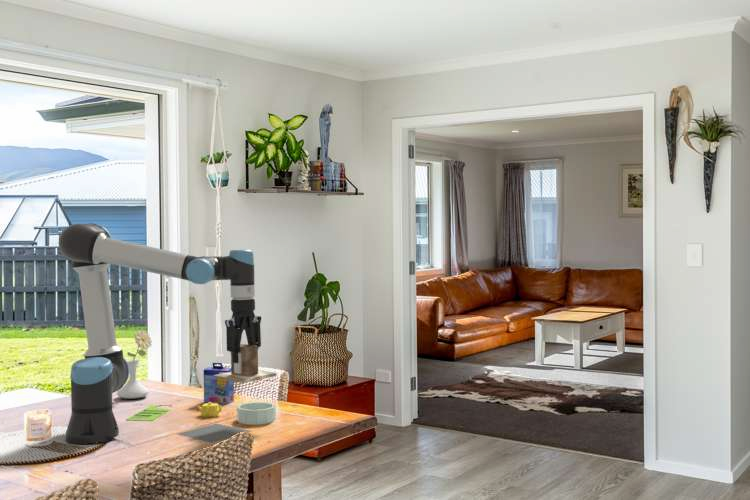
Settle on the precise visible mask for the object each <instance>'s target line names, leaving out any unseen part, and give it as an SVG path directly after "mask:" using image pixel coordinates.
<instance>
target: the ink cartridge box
mask: <svg viewBox="0 0 750 500" xmlns="http://www.w3.org/2000/svg"><path fill="white" fill-rule="evenodd" d="M227 372H231V367H226V366H223V362H212V366H208V367H205V368H204V369H203V403H204V402H207V403H208V402H212V403H218V404H225V403H226V404H227V405H229V404H230V403H232V402H234V401H235V382H233V381H226V380H220V379H213V375H217V374H222V373H227ZM226 404H225V405H226Z"/></svg>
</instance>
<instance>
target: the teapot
mask: <svg viewBox="0 0 750 500" xmlns="http://www.w3.org/2000/svg"><path fill="white" fill-rule="evenodd" d="M197 408H198V410H199V411H200V417H202V418H203V417H204V418H213V417H214V418H216V417H217V416H218V415H219V413H221V412H223V410H222V409H223V408H222V405H219V403H212V402H208V403H204V404H202V405H201V406H200V405H197Z"/></svg>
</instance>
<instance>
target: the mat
mask: <svg viewBox="0 0 750 500" xmlns="http://www.w3.org/2000/svg"><path fill="white" fill-rule="evenodd" d="M245 431H246V432H247V433H249V432H251V430H249V429H246V428H245V429H244V428H239V427H234V426H230V425H225V424H220V423H213V424H209V425H206V426H201V427H198V428H194V429H190V430H187V431H182V432H179V433H177V435H179V436H183V437H186V438H190V439H191V438H192V439H196V440H200V441H205V442H210V443H215V442H219V441H222V440H225V439H230V438H232V437H231V436H233V435H235V434H237V433H240V432H245ZM233 437H234V436H233Z"/></svg>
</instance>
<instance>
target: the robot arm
mask: <svg viewBox="0 0 750 500" xmlns="http://www.w3.org/2000/svg"><path fill="white" fill-rule="evenodd" d="M58 248H59V250H60V253H61V254H62V255H63V257H65V258H66V259H67V260H70V261H71V267H72V270H74V271H75V272H77V274H78V280H79V287H80V288H79V289H80V294H81V301H82V302H81V303H82V309H83V317H84V324H85V325H84V326H85V332H86V340H87V348H88V349H87V350H86V351H85V352H84V354H83V359H78V360H77V361H74V363H73V364H72V365H71V369H70V375H69V377H70V400H71V403H70V406H71V415H70V418H69V421H68V424H67V427H66V432H65V441H66V442H67V443H70V444H76V445H88V444H87V443H95V444H97V443H96V442H102V443H107V442H112V441H114V440H115V439H116V437H118V436H119V435H120V431H119V430H120V429H119V426H118V425H119V424H118V423H117V420H116V417H115V414H114V412H113V394H114V393H116V392H118V391H119V390H120V389H121V388H122V387H123V386H124V385H125V384H126V383H127V382H128V381H129V378H130V371H129V365H128V363H127V361H126V360H127V359H125V358H124V350H123V348H122V347H121V346H119V345H118V343H117V336H116V330H115V320H114V314H113V306H112V299H111V291H110V283H109V276H108V269H109V267H110V266H111V265H114V266H118V267H123V268H129V269H133V270H138V271H142V272H147V273H151V274H157V275H162V276H167V277H169V278H170V277H171V278H176V279H181V280H184V281H188V282H191V283H192V284H196V285H205V284H207V283H209V282H212V281H229V282H230V284H229V285H230V298H232V299H231V300H230V310H231V312H232V315H231V318H230V319H226V320H224V324H225V327H226V330H225V331H226V332H225V333H226V351H227V352H229V353H231V352H232V362H233V363H234V373H238V374H242V367H241V353H239V349H240V344H242V343H241V342H242V335H243V332H245V334H246V335H245V336H246V341H247V344H248V345H257V346H258V350H259V349H260V348H261V346H262V337H261V335H262V334H261V332H262V331H261V322H262V316H260V315H256V314H255V313H254V311H255V310H256V300H255V296H256V295H255V292H256V291H255V261H254V251H252V249H231V250H230V251H229V254H228V255H225V256H205V255H204V256H196V255H195V256H194V255H190V254H186V253H181V252H177V251H176V252H175V251H171V250H167V249H162V248H159V247H158V248H157V247H153V246H148V245H144V244H139V243H133V242H131V241H125V240H121V239H116V238H113V237H112V235H111V233H110V231H108V229H107V228H105V227H104V226H102V225H100V224H96V223H89V222H88V223H72V224H71V225H68V226H67V227H65V228H64V229H63V230H62V231H61V233H60V235H59V238H58ZM235 348H236V349H235Z"/></svg>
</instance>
